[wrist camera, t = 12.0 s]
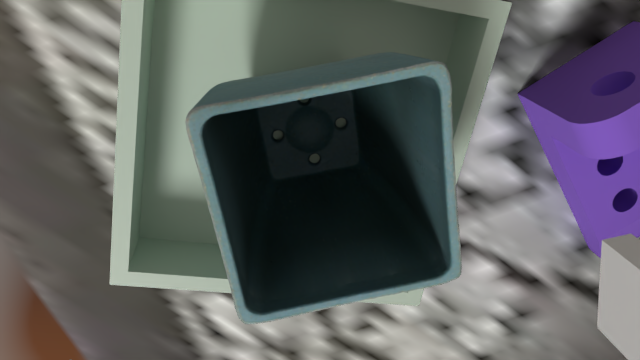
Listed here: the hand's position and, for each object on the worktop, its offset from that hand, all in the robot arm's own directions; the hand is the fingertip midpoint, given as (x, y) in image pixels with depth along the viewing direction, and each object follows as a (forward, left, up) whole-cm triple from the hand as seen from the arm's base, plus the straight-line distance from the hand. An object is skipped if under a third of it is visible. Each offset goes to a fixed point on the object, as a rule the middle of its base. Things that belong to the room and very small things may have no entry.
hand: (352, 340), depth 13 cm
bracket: (+5, -18, -17) cm, 25 cm away
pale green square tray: (0, 0, -16) cm, 16 cm away
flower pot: (+1, 0, -16) cm, 16 cm away
